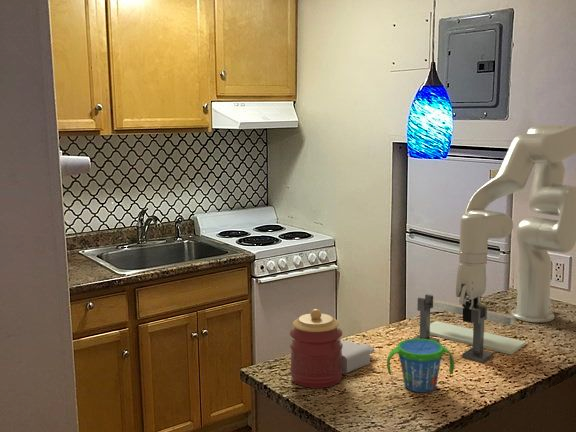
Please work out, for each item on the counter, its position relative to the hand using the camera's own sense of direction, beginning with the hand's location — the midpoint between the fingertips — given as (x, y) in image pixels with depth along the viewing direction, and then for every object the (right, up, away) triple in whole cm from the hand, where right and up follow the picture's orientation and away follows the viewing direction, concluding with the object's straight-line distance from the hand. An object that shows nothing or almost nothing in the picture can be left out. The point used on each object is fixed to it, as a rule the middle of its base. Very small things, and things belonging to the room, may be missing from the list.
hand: (470, 320), depth 181 cm
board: (0, -5, +1) cm, 5 cm away
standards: (-8, -7, -8) cm, 13 cm away
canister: (-45, -10, -25) cm, 53 cm away
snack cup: (-21, -11, -31) cm, 39 cm away
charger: (-35, -9, -14) cm, 39 cm away
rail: (0, +2, 0) cm, 2 cm away
